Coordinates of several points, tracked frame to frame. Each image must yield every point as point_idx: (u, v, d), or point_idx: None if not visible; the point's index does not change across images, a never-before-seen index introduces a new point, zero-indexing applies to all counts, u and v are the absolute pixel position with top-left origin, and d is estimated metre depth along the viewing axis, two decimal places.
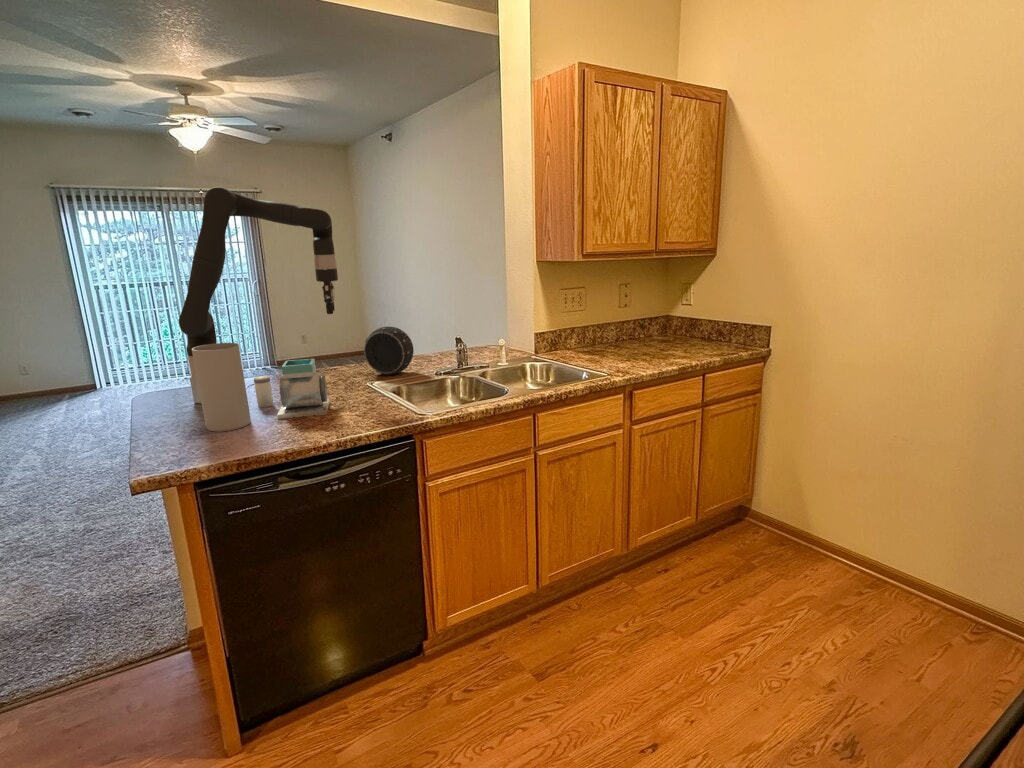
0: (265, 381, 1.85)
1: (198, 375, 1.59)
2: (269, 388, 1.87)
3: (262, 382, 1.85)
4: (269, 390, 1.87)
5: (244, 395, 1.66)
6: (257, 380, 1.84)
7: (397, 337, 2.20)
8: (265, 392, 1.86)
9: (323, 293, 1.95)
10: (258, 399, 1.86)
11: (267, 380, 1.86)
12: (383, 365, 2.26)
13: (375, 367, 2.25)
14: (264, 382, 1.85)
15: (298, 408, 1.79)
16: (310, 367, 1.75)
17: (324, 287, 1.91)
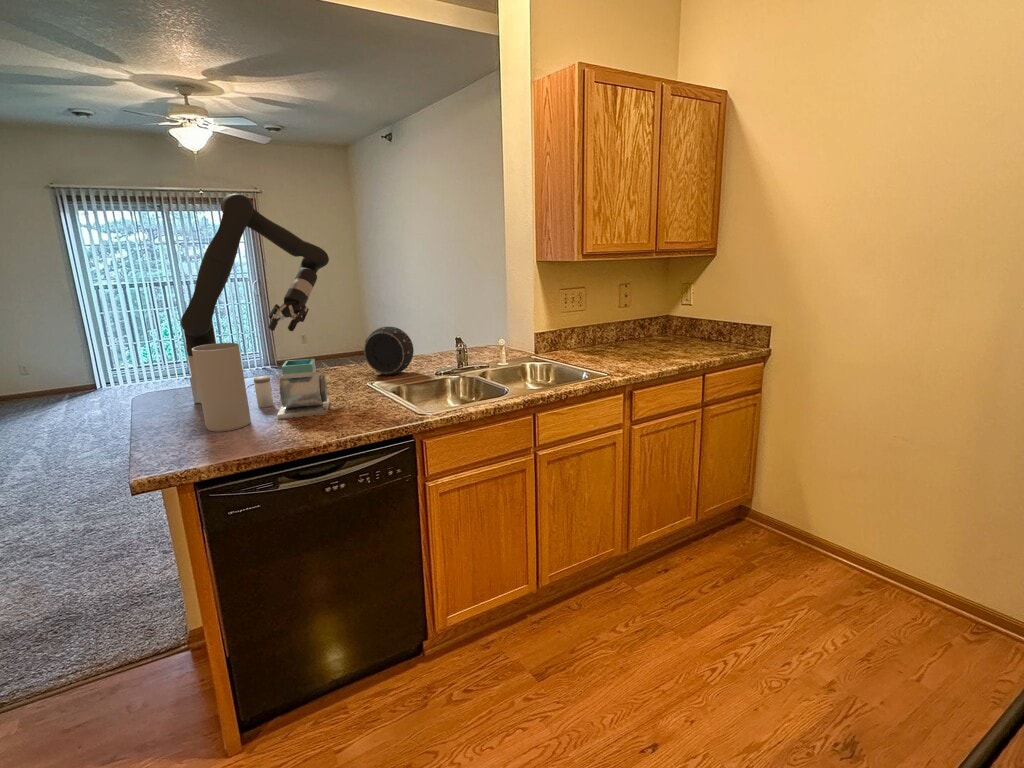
0: (265, 381, 1.85)
1: (198, 375, 1.59)
2: (269, 388, 1.87)
3: (262, 382, 1.85)
4: (269, 390, 1.87)
5: (244, 395, 1.66)
6: (257, 380, 1.84)
7: (397, 337, 2.20)
8: (265, 392, 1.86)
9: (293, 310, 1.94)
10: (258, 399, 1.86)
11: (267, 380, 1.86)
12: (383, 365, 2.26)
13: (375, 367, 2.25)
14: (264, 382, 1.85)
15: (298, 408, 1.79)
16: (310, 367, 1.75)
17: (305, 307, 1.95)
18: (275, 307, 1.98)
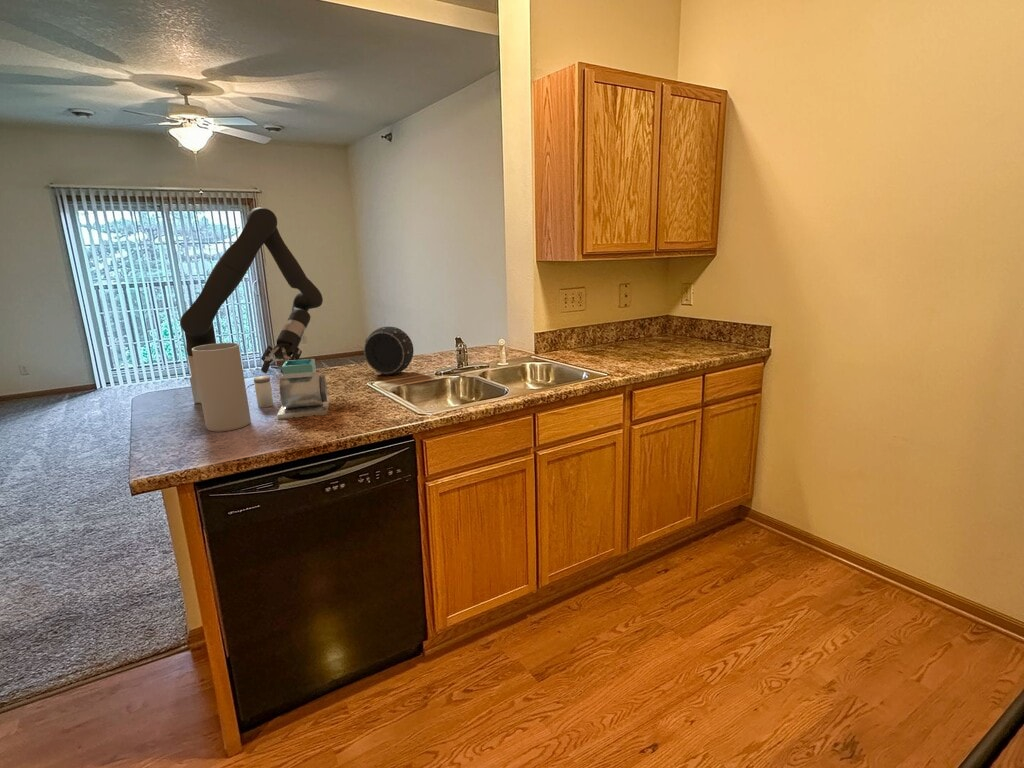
0: (265, 381, 1.85)
1: (198, 375, 1.59)
2: (269, 388, 1.87)
3: (262, 382, 1.85)
4: (269, 390, 1.87)
5: (244, 395, 1.66)
6: (257, 380, 1.84)
7: (397, 337, 2.20)
8: (265, 392, 1.86)
9: (286, 353, 1.92)
10: (258, 399, 1.86)
11: (267, 380, 1.86)
12: (383, 365, 2.26)
13: (375, 367, 2.25)
14: (264, 382, 1.85)
15: (298, 408, 1.79)
16: (310, 367, 1.75)
17: (298, 349, 1.93)
18: (268, 349, 1.96)
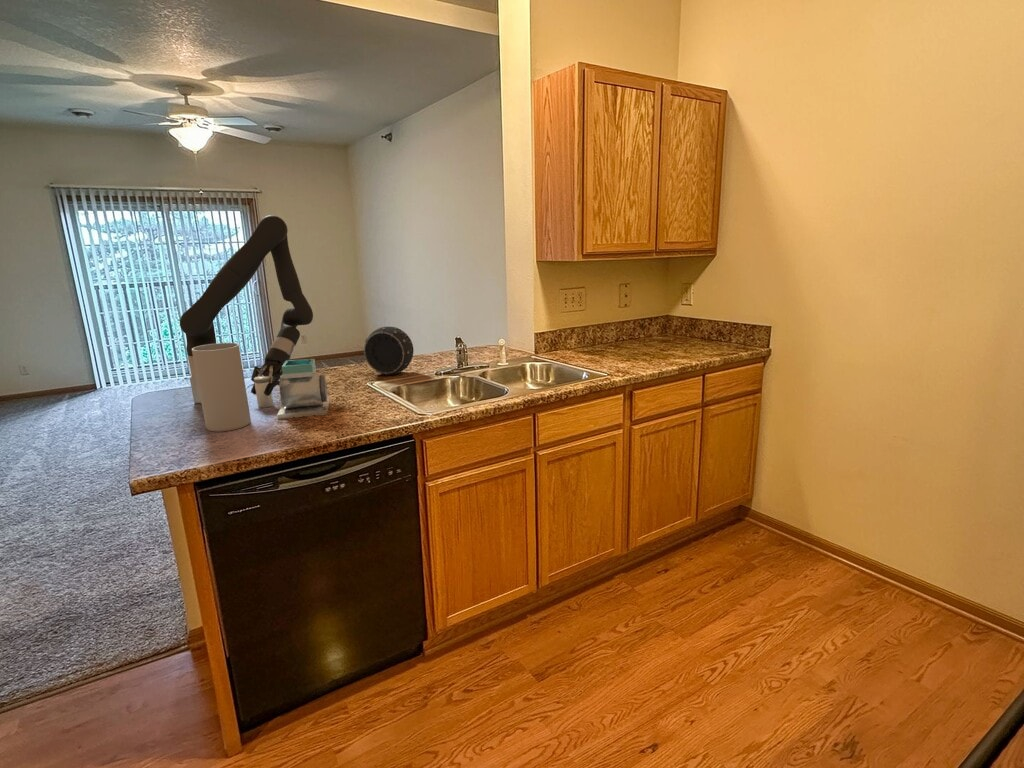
0: (265, 381, 1.85)
1: (198, 375, 1.59)
2: None
3: (262, 382, 1.85)
4: None
5: (244, 395, 1.66)
6: (257, 380, 1.84)
7: (397, 337, 2.20)
8: None
9: (272, 373, 1.87)
10: (258, 399, 1.86)
11: (267, 380, 1.86)
12: (383, 365, 2.26)
13: (375, 367, 2.25)
14: (264, 382, 1.85)
15: (298, 408, 1.79)
16: (310, 367, 1.75)
17: None
18: (255, 369, 1.91)
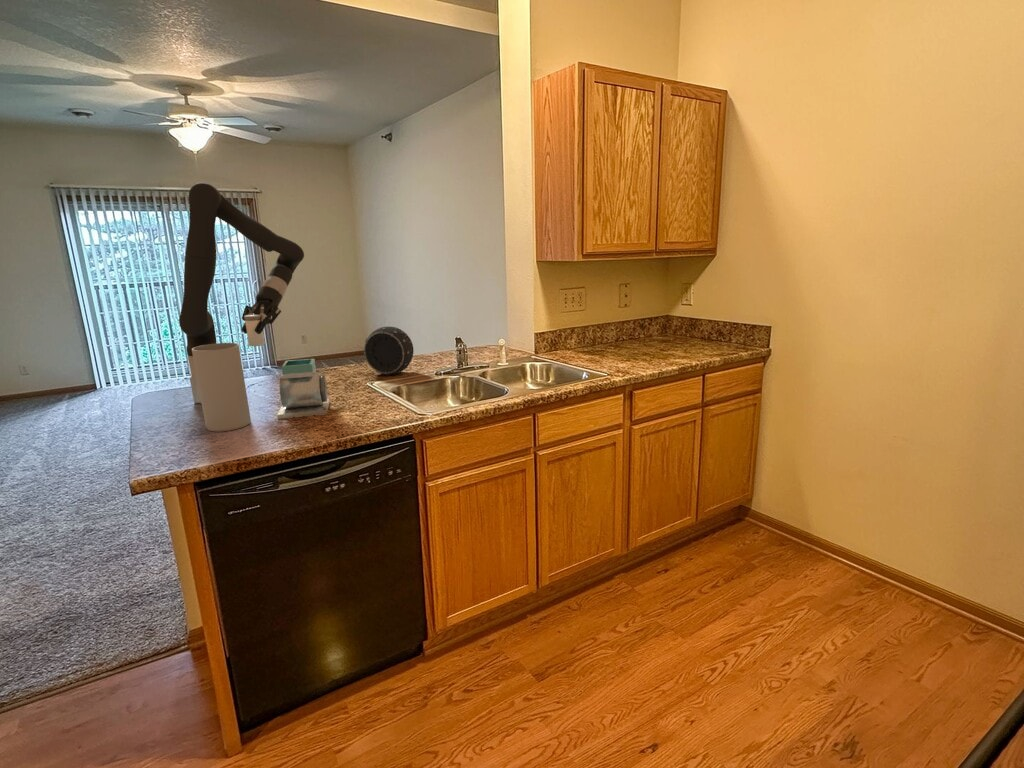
0: (256, 318, 1.80)
1: (198, 375, 1.59)
2: None
3: (253, 319, 1.79)
4: None
5: (244, 395, 1.66)
6: (248, 317, 1.79)
7: (397, 337, 2.20)
8: None
9: (263, 311, 1.82)
10: (249, 337, 1.81)
11: (258, 318, 1.80)
12: (383, 365, 2.26)
13: (375, 367, 2.25)
14: (255, 320, 1.80)
15: (298, 408, 1.79)
16: (310, 367, 1.75)
17: (277, 308, 1.82)
18: (246, 308, 1.86)
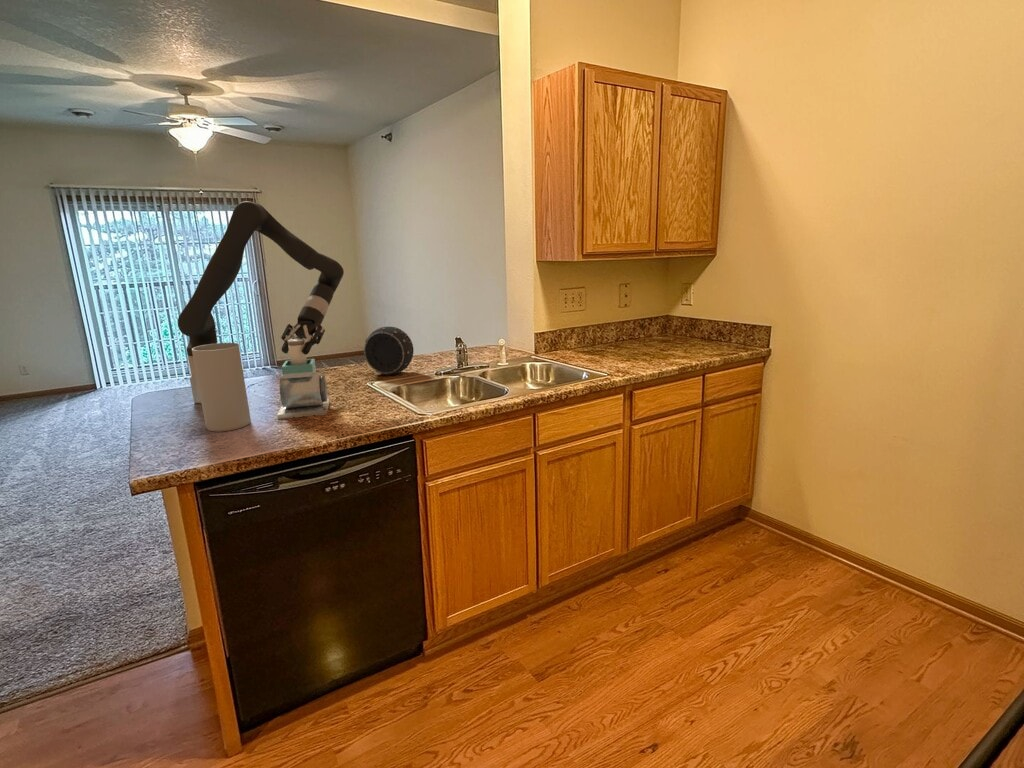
0: (300, 343, 1.75)
1: (198, 375, 1.59)
2: None
3: (297, 344, 1.74)
4: None
5: (244, 395, 1.66)
6: (291, 342, 1.74)
7: (397, 337, 2.20)
8: (299, 354, 1.75)
9: (308, 331, 1.77)
10: (292, 362, 1.76)
11: (302, 342, 1.75)
12: (383, 365, 2.26)
13: (375, 367, 2.25)
14: (299, 345, 1.74)
15: (298, 408, 1.79)
16: (310, 367, 1.75)
17: (321, 327, 1.77)
18: (288, 327, 1.81)
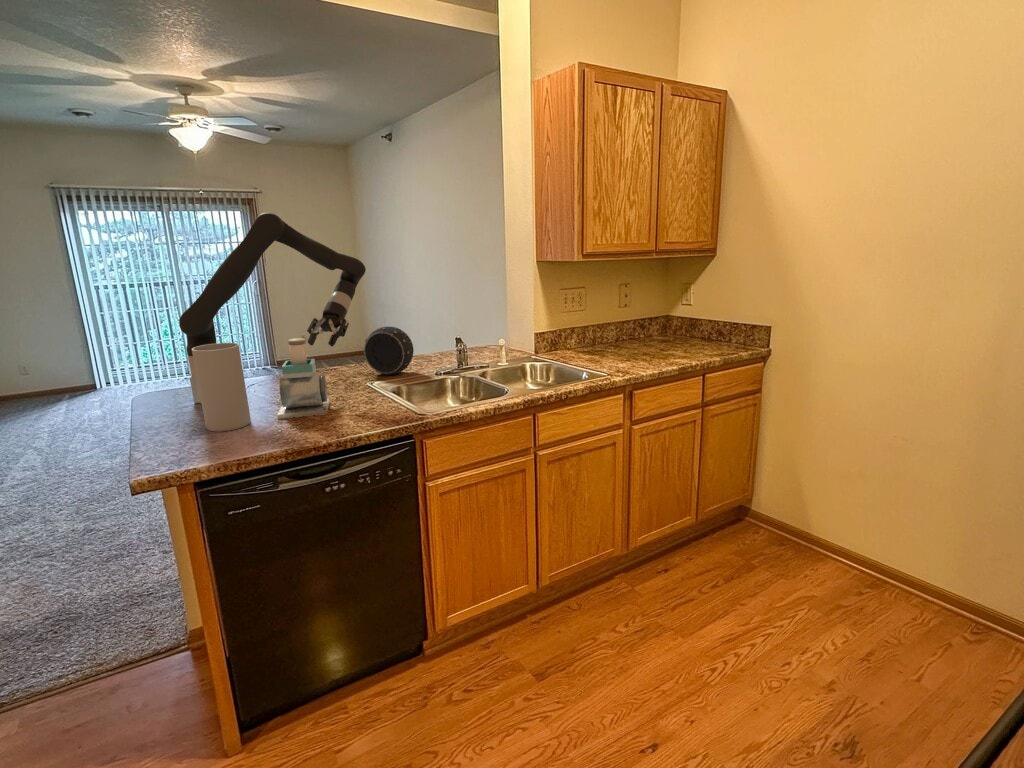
0: (300, 343, 1.75)
1: (198, 375, 1.59)
2: (304, 351, 1.76)
3: (297, 344, 1.74)
4: (304, 353, 1.76)
5: (244, 395, 1.66)
6: (292, 342, 1.74)
7: (397, 337, 2.20)
8: (300, 354, 1.75)
9: (333, 325, 1.88)
10: (292, 362, 1.76)
11: (302, 342, 1.75)
12: (383, 365, 2.26)
13: (375, 367, 2.25)
14: (300, 344, 1.75)
15: (298, 408, 1.79)
16: (310, 367, 1.75)
17: (345, 321, 1.89)
18: (314, 321, 1.92)
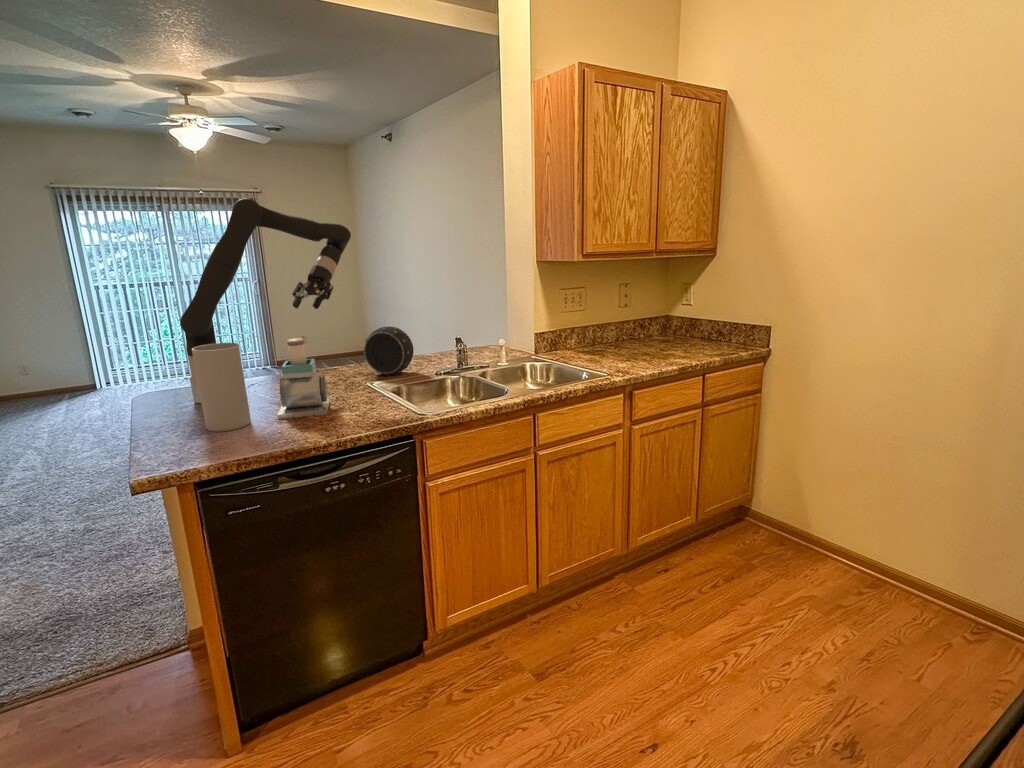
0: (300, 343, 1.74)
1: (198, 375, 1.59)
2: (304, 351, 1.76)
3: (297, 344, 1.74)
4: (304, 353, 1.76)
5: (244, 395, 1.66)
6: (291, 342, 1.73)
7: (397, 337, 2.20)
8: (299, 354, 1.75)
9: (318, 288, 1.90)
10: (292, 363, 1.76)
11: (302, 342, 1.75)
12: (383, 365, 2.26)
13: (375, 367, 2.25)
14: (299, 345, 1.74)
15: (298, 408, 1.79)
16: (310, 367, 1.75)
17: (330, 284, 1.91)
18: (299, 285, 1.94)
